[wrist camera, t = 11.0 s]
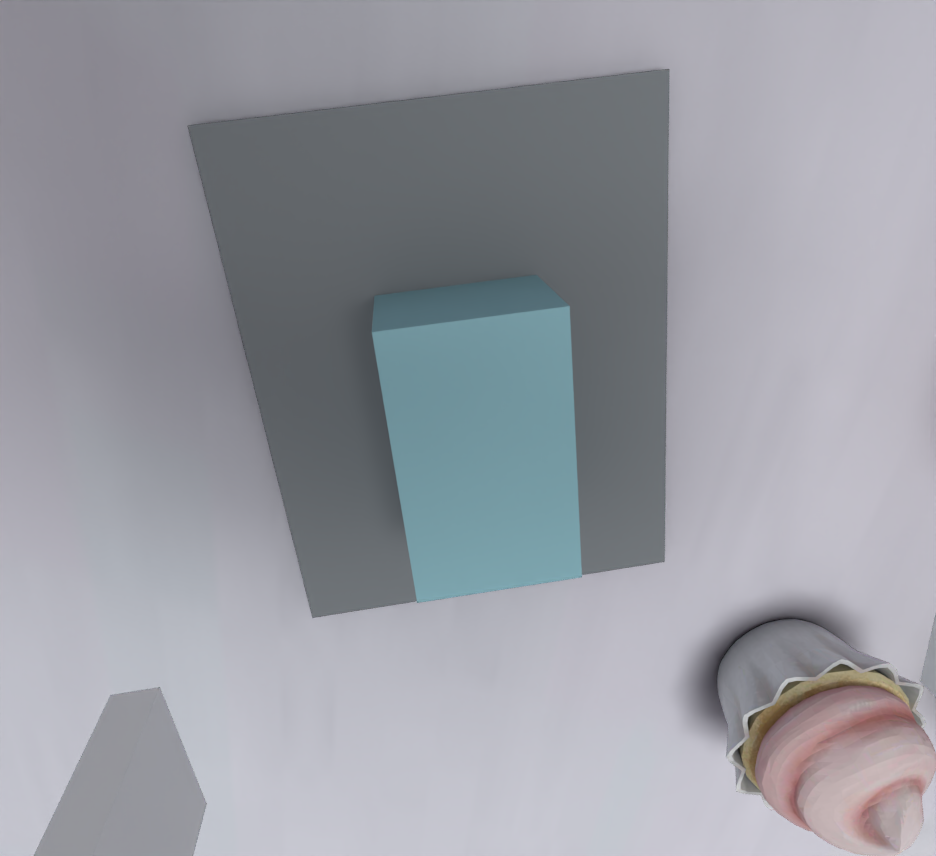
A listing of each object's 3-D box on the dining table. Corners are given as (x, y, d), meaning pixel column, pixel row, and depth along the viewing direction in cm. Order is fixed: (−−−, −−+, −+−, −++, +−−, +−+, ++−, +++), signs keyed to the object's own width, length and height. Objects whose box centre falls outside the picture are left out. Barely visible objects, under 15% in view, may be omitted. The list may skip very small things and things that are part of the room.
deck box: (411, 528, 29) (415, 603, 24) (373, 295, 25) (370, 332, 20) (552, 507, 29) (583, 576, 25) (537, 274, 25) (571, 305, 21)
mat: (192, 125, 23) (187, 125, 22) (662, 70, 23) (669, 69, 23) (314, 609, 31) (312, 617, 30) (659, 554, 32) (664, 561, 31)
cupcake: (748, 567, 32) (890, 737, 23) (894, 620, 35) (1074, 793, 26) (650, 708, 35) (742, 908, 26) (791, 748, 38) (919, 944, 29)
